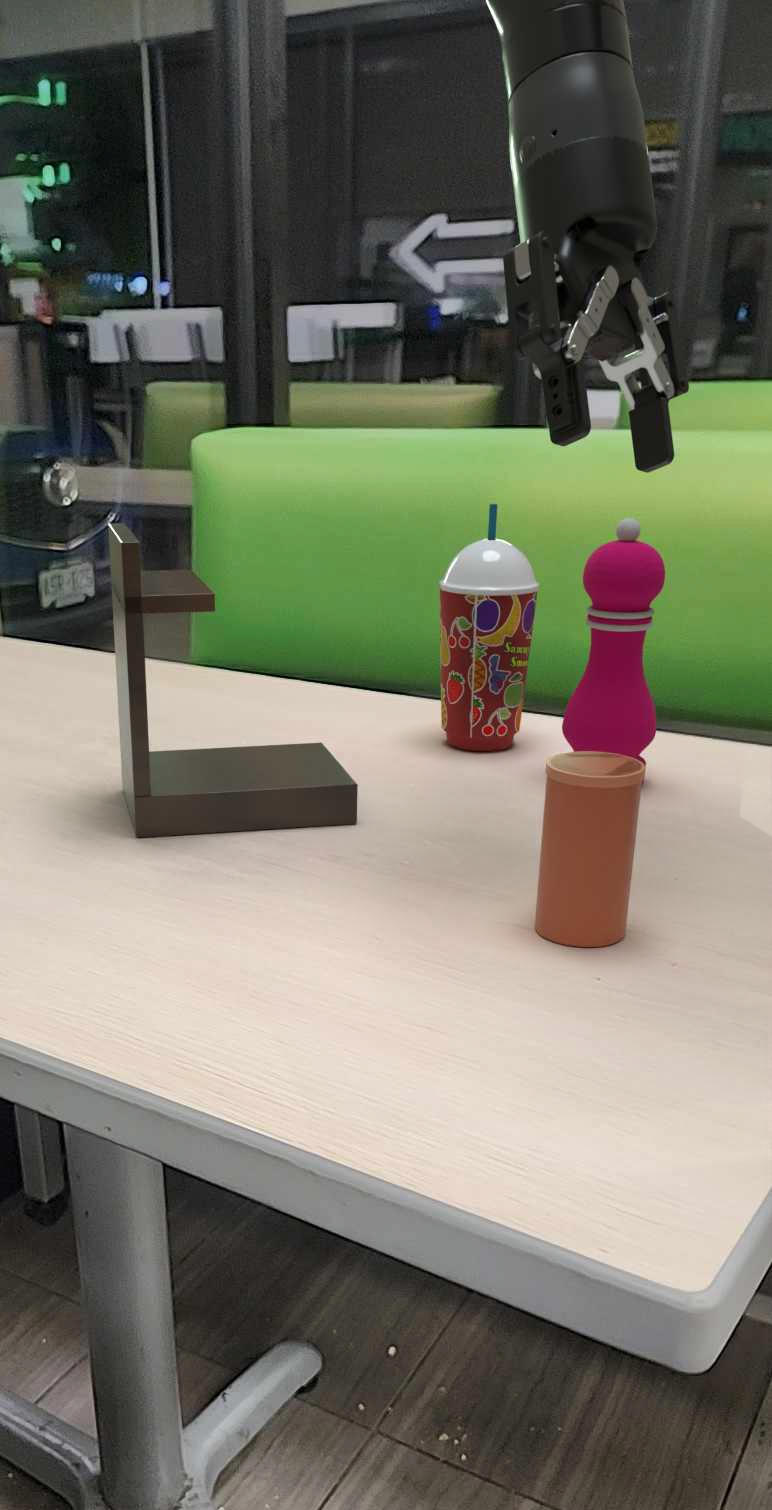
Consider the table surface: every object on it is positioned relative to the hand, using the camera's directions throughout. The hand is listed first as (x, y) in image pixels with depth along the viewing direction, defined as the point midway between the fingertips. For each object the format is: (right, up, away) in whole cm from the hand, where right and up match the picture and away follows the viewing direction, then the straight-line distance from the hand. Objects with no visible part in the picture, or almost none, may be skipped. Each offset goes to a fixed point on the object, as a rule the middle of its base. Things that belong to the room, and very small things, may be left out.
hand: (615, 454), depth 75 cm
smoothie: (-2, -10, +42) cm, 43 cm away
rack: (-22, -17, +25) cm, 38 cm away
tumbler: (-2, -27, +2) cm, 27 cm away
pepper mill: (+7, -15, +31) cm, 35 cm away
